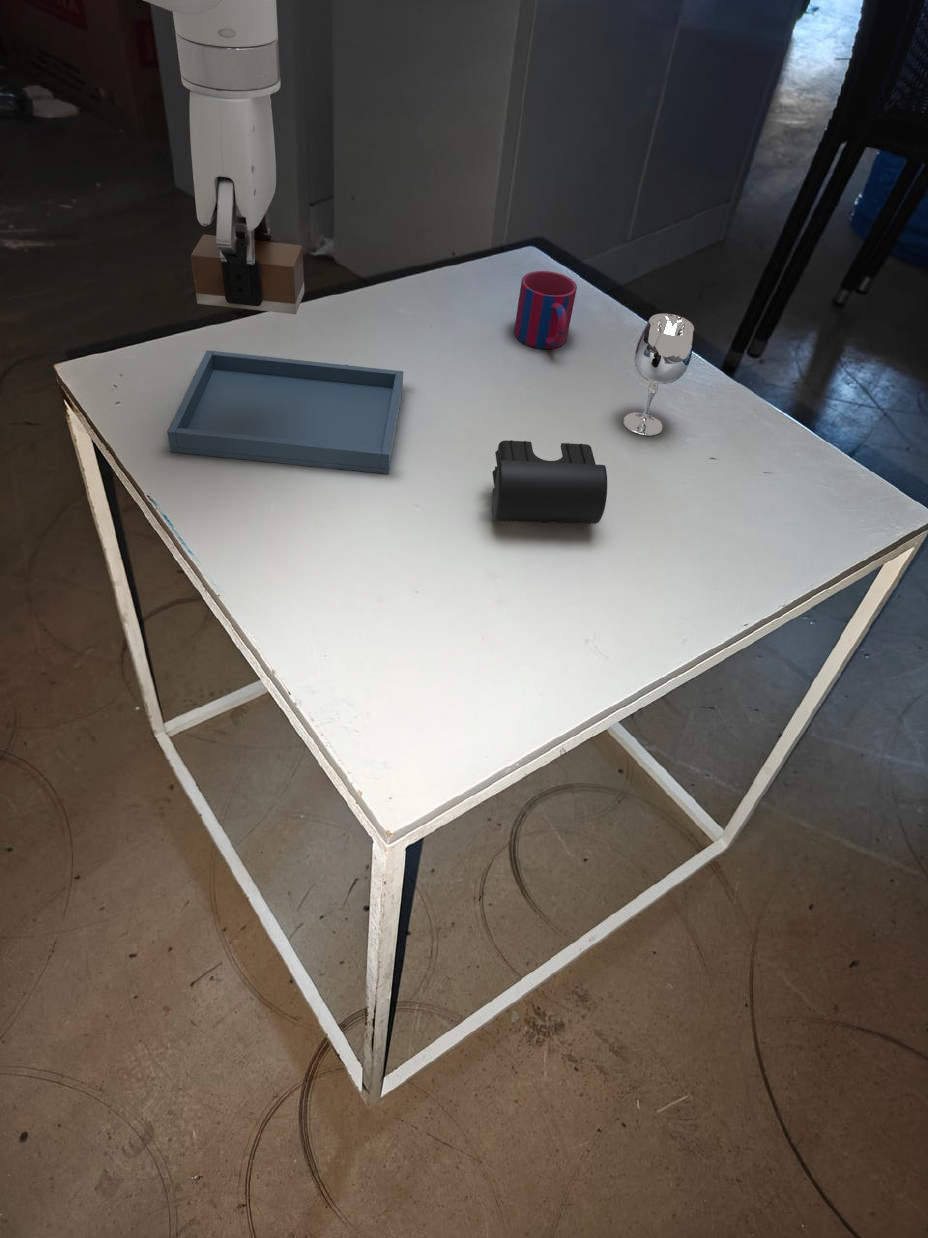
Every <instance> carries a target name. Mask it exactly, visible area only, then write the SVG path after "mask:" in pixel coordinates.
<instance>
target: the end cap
mask: <svg viewBox="0 0 928 1238" xmlns="http://www.w3.org/2000/svg"><path fill="white" fill-rule="evenodd" d="M560 451H561V456H562V457H560V458H559V459H555V460H548V459H543V458H540V457H539V456H537V455H536V454H535V453H534V449H533V443H532V441H529V440H528V441H527V440H512V439H511V440H507V439H505V440H502V441H500V442H499V443H498V446H497V450H496V451H495V453H494V455H495V461H496V466H494V469H493V470H492V472H491V474H492V481H493V487H492V492H491V497H492V499H491V507H490V513H491V517H492V519H493V520H494V521H497V522H512V523H513V522H514V523H515V522H516V523H542V524H566V525H567V524H571V525H591V524H592V525H596V524H598V523H600V522H601V520H602V518H603V515H604V513H605V509H606V504H607V498H608V472H607V466H606V465H605V464H596V460H595V457H594V453H593V448H592V446H591V445H589V444H586V443H570V442H561V443H560Z"/></svg>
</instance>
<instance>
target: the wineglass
mask: <svg viewBox="0 0 928 1238" xmlns="http://www.w3.org/2000/svg"><path fill="white" fill-rule="evenodd" d="M694 340H695V326H694V324H693V322H691V321H689V320H688V319H687V318H685V317H682V316H680V315H676V314H672V313H656V314H654V315H652V316H651V317H650V318H649V319H648V320H647V323H646V324H645V326H644V328H643V330H642V332H641V334H640V336H639V339H638V342H637V344H636V347H635V351H634V366H635V369H636V371H637V373H638V374H639V375H640V377H642V378H643V379H644V380H646V381H648V382H650V383H649V385H648V387H647V388H648V390H647V401H646V405H645V408H644V411H643V412H641V411H639V412H637V411H635V412H630V413H628V414H626V415H625V416H624V417H623V420H622V423H623V425H624V427H625V428H626V429H627V430H629V431H630V432H632V433H634V434H637V435H640V436H644V437H646V436H647V437H650V436H651V437H652V436H656V435H658V434H660V433H661V432H663V431H662V430H663V423H662V421H661V420H660V419H658V418H657V417H656V416H654V415H652V414H650V413H649V412H650V408H651V405H652V401H653V399H654V397H655V396H656V394H657V392H658V390H659V385H667V384H671V383H674V382H676V381H678V380H680V378H681V377H683V375H684V374H685V373H686V371H687V369H688V367H689V366H690V363H691V360H692V355H693V349H694V343H695V342H694Z"/></svg>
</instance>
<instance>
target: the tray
mask: <svg viewBox="0 0 928 1238" xmlns="http://www.w3.org/2000/svg"><path fill="white" fill-rule="evenodd" d="M403 388H404V370H395V369H387V368H386V369H385V368H376V367H369V366H368V367H367V366H358V365H350V364H349V365H348V364H339V363H329V362H321V361H310V360H301V359H292V358H283V357H273V356H265V355H255V354H247V353H246V354H245V353H236V352H227V351H220V350H219V351H218V350H210V349H209V350H208V349H207V350H205V353H204V355H203V357H202V359H201V361H200V362H199V365H198V367H197V369H196V371H195V373H194V375H193V378H192V380H191V381H190V383H189V386H188V387H187V390H186V391H185V394H184V396H183V398H182V400H181V401H180V404H179V405H178V408H177V410H176V412H175V414H174V417H173V418H172V420H171V422H170V425H169V426H168V429H167V431H166V433H167V438H168V444H169V451H170V452H171V453H178V454H187V455H188V454H189V455H198V456H208V457H218V458H227V459H228V458H229V459H236V460H237V459H238V460H247V461H248V460H249V461H258V462H267V463H277V464H287V465H295V466H305V467H316V468H325V469H326V468H327V469H335V470H336V469H337V470H344V471H345V470H346V471H355V472H364V473H375V474H384V475H385V474H386V475H389V474H390V468H391V461H392V455H393V450H394V443H395V437H396V432H397V427H398V426H397V425H398V420H399V414H400V407H401V401H402V396H403Z"/></svg>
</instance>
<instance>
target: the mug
mask: <svg viewBox="0 0 928 1238" xmlns="http://www.w3.org/2000/svg"><path fill="white" fill-rule="evenodd" d="M520 281H521V282H520V289H519V296H518V302H517V307H516V316H515V322H514V329H513V333H514V336H515V338H516V339H517V340H518V341H519V342H521V343H522V344H523V345H526V346H529V347H532V348H535V349H541V350H549V349H550V350H551V349H552V350H553V349H556V348H560V347H561V346H563V345H564V344H565V343H566V342H567V340H568V335H569V330H570V324H571V321H572V320H571V319H572V314H573V310H574V306H575V299H576V295H577V290H578V286H577V284H576V282H575V281H574V280H573V279H572V278H570V277H569V276H567V275H564V274H562V273H559V272H555V271H550V270H535V271H531V272H527V273H526V274H525V275H523V276H522V278H521V280H520Z"/></svg>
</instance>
